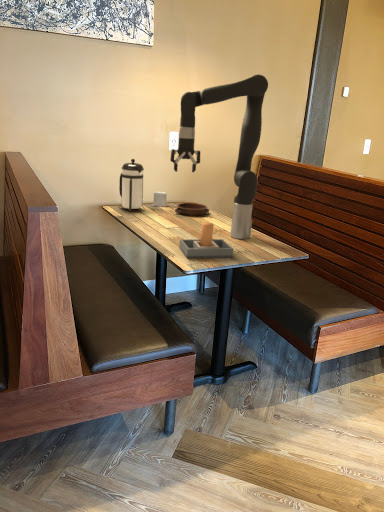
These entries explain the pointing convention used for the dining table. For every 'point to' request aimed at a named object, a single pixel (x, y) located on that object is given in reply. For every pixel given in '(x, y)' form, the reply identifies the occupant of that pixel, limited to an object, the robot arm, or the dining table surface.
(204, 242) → the rounded orange object
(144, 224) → the dining table surface
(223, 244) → the walled box
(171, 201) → the dining table surface
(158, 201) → the medicine box
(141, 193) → the coffee press
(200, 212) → the dish
